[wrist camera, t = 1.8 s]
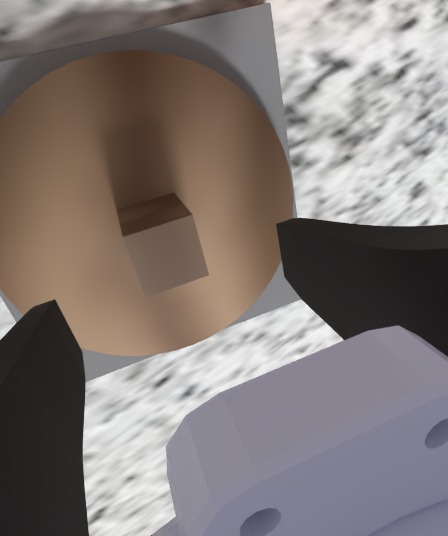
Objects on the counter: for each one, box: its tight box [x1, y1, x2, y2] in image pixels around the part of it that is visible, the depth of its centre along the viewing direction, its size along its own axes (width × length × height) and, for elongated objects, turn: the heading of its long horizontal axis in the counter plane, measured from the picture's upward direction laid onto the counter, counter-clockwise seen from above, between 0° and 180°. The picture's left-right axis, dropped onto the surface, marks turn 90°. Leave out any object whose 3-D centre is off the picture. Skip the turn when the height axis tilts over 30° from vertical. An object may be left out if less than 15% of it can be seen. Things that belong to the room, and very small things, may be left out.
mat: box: [0, 3, 301, 382], centre depth 18 cm, size 15×15×1 cm
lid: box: [0, 50, 294, 356], centre depth 16 cm, size 14×14×4 cm
